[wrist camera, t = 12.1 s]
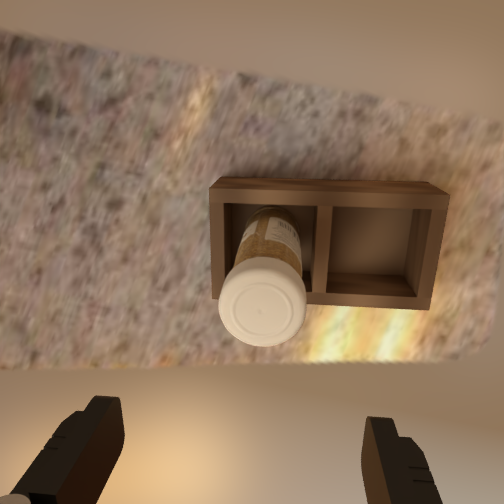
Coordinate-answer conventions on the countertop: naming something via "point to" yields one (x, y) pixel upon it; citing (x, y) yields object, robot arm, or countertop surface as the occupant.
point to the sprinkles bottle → (265, 281)
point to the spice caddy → (341, 236)
